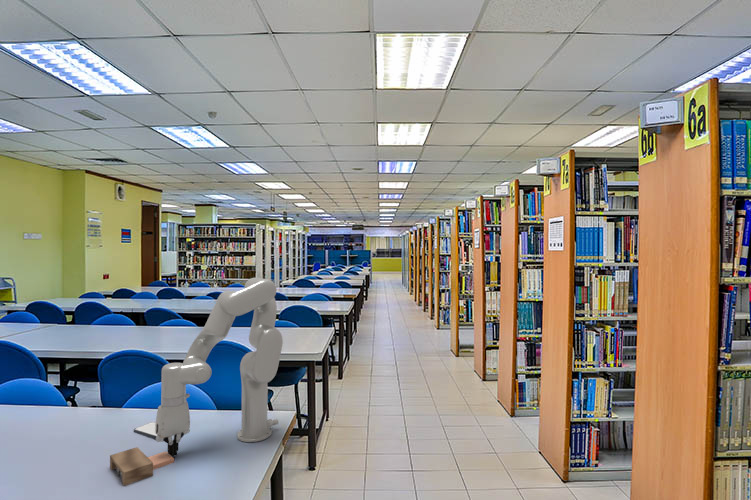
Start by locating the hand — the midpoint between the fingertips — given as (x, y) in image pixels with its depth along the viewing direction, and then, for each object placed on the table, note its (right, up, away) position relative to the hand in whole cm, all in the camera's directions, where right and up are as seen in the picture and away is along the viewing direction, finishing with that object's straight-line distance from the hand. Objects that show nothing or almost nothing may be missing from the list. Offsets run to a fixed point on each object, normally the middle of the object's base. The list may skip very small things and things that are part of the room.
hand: (172, 454), depth 142 cm
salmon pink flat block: (-4, -2, -5) cm, 7 cm away
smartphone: (-16, -2, +20) cm, 26 cm away
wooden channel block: (-9, -1, -9) cm, 13 cm away
